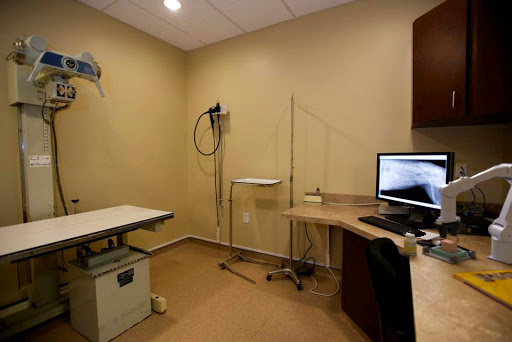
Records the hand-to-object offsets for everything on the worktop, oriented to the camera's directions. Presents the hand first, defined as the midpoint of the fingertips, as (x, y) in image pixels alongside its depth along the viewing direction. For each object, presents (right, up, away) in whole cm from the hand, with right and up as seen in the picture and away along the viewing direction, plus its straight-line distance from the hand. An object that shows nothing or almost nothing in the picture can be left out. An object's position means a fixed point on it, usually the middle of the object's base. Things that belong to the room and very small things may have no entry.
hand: (448, 237), depth 115 cm
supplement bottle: (-16, -10, +4) cm, 19 cm away
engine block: (0, -8, 0) cm, 8 cm away
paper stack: (+8, -8, +26) cm, 28 cm away
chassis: (0, -9, 0) cm, 9 cm away
